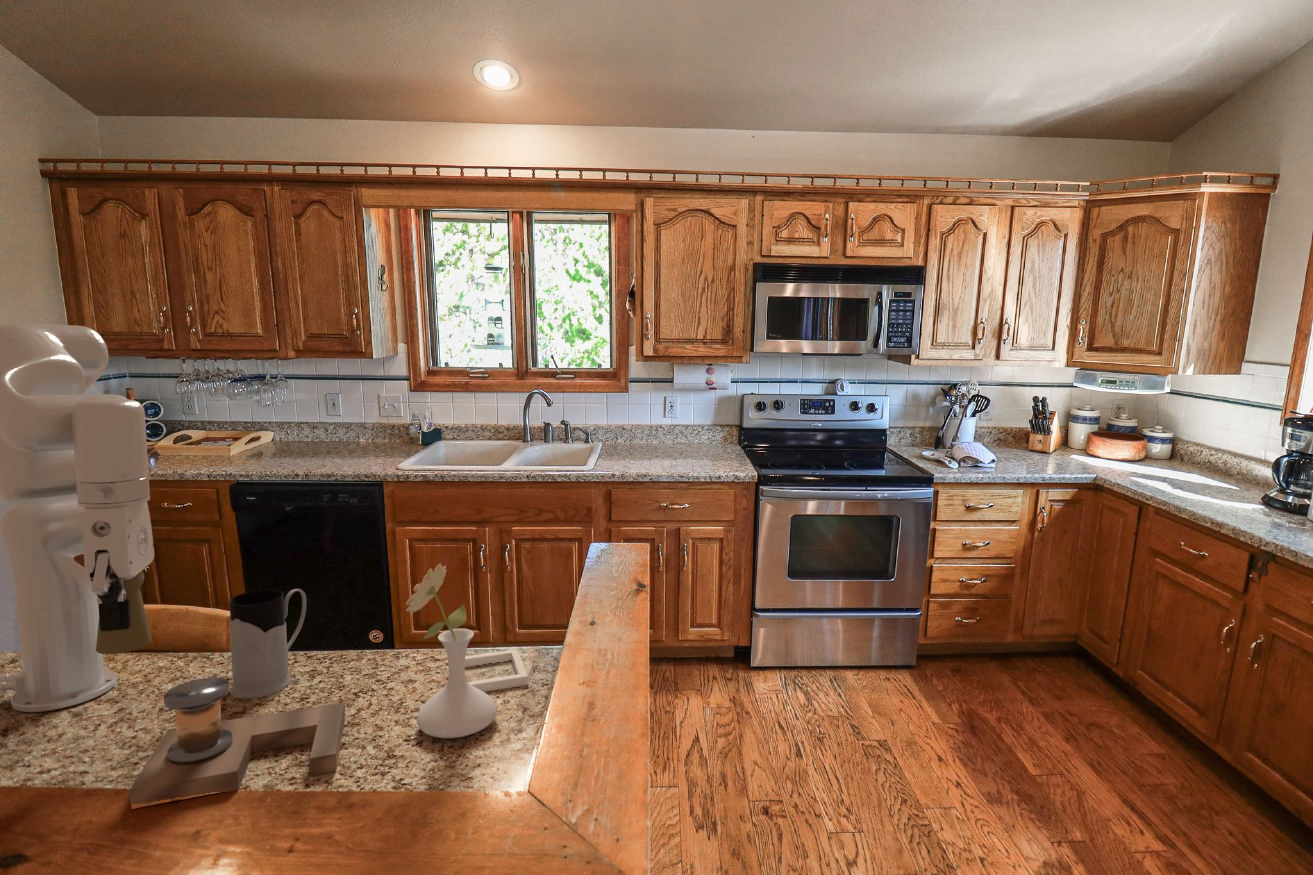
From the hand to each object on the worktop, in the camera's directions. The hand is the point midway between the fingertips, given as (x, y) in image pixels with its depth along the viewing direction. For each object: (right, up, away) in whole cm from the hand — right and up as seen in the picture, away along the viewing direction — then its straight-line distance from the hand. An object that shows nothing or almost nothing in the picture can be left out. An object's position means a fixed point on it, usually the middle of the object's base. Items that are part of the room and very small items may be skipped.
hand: (122, 621), depth 91 cm
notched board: (+19, -18, -2) cm, 26 cm away
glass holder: (+9, -16, +21) cm, 27 cm away
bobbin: (+14, -16, -4) cm, 21 cm away
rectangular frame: (+45, -16, +23) cm, 52 cm away
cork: (0, -4, 0) cm, 4 cm away
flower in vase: (+43, -18, +6) cm, 47 cm away
